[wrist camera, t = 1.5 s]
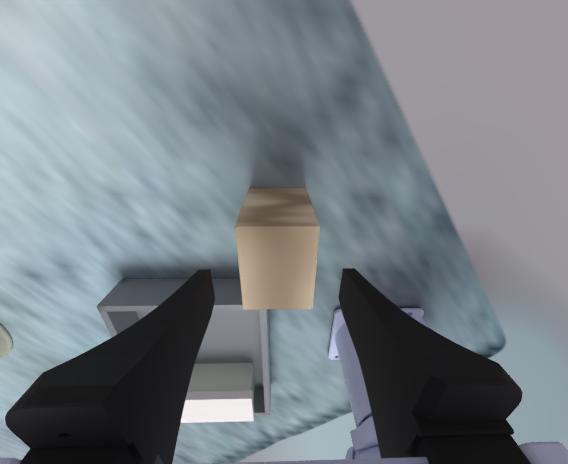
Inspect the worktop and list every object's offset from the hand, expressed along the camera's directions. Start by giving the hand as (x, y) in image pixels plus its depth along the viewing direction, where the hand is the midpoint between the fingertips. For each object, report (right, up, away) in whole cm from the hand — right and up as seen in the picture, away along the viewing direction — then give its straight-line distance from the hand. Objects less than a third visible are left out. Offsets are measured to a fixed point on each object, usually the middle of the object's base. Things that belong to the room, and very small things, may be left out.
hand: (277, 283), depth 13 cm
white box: (-8, -15, +16) cm, 23 cm away
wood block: (0, +4, +7) cm, 8 cm away
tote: (-8, -10, +14) cm, 19 cm away
